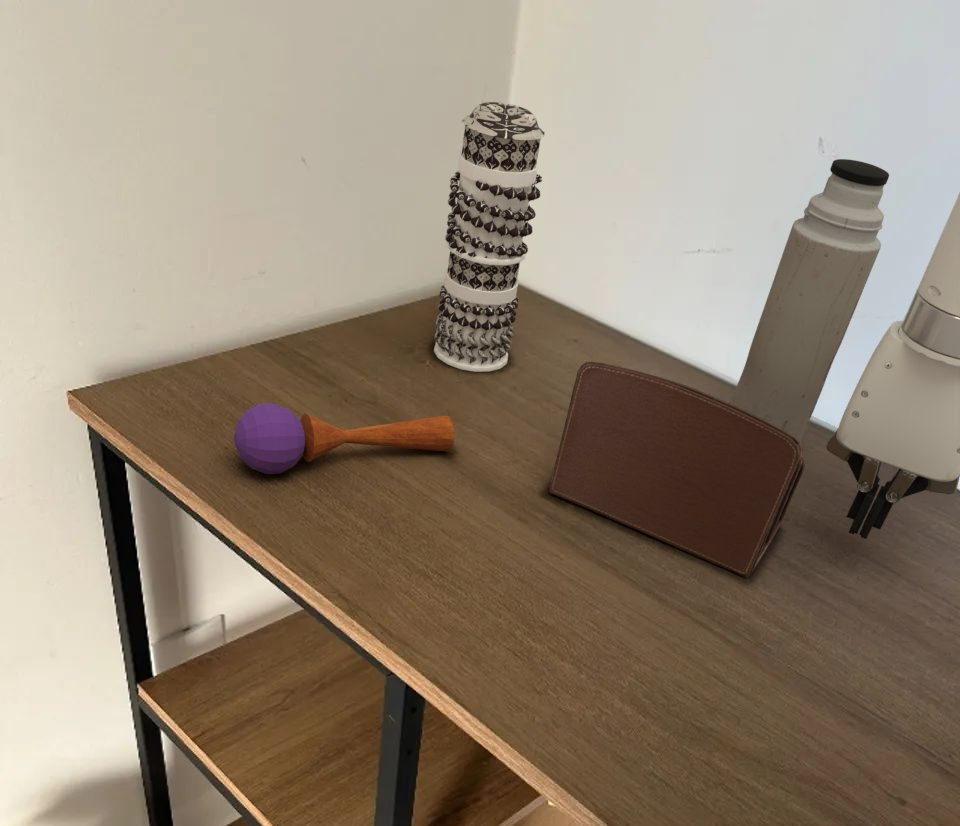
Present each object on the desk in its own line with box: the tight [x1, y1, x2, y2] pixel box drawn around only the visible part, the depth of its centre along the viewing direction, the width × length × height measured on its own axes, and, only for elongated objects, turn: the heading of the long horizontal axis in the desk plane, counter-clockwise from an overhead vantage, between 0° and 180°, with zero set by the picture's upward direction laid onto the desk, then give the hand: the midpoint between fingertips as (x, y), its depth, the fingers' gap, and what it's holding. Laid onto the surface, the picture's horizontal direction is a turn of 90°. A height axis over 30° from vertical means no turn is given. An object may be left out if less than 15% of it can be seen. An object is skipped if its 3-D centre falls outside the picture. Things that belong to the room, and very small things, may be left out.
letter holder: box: [548, 361, 806, 579], centre depth 85 cm, size 10×20×14 cm, turn 61°
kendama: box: [233, 403, 455, 475], centre depth 87 cm, size 6×6×20 cm
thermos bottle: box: [730, 158, 890, 443], centre depth 92 cm, size 8×8×28 cm
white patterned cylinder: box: [433, 101, 546, 373], centre depth 100 cm, size 9×9×25 cm
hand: (860, 528), depth 84 cm, fingers closed
